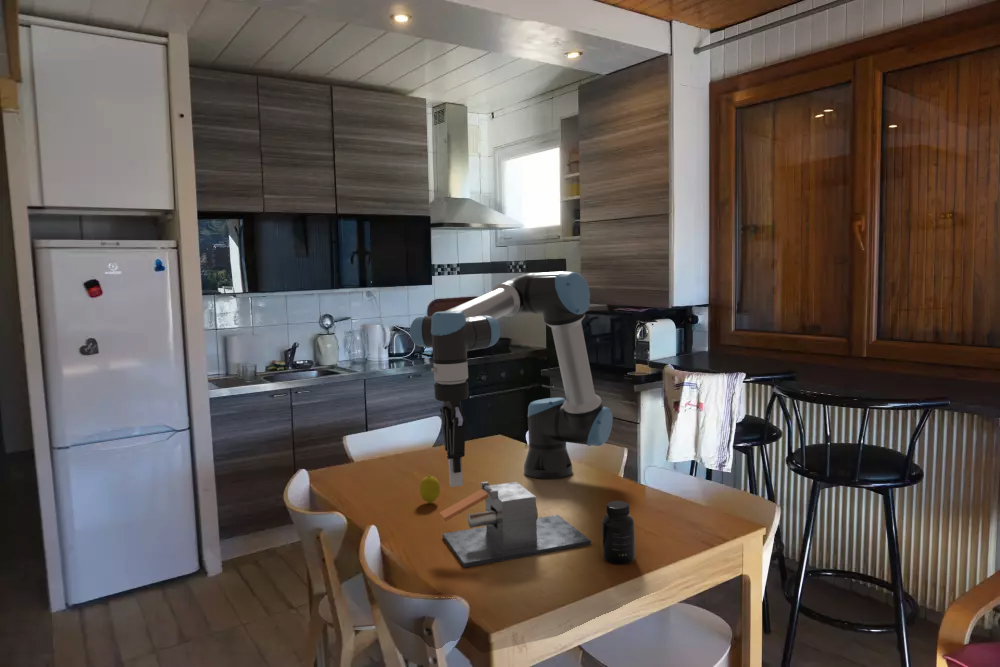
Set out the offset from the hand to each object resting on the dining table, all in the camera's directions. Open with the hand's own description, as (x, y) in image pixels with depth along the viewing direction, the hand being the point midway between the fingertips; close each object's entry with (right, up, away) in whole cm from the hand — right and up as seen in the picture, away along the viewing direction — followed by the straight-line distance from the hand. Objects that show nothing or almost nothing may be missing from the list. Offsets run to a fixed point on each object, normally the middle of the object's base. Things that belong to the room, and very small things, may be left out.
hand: (456, 485), depth 147 cm
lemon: (-9, -13, +33) cm, 37 cm away
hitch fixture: (+12, -14, +5) cm, 20 cm away
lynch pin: (+10, -10, +4) cm, 15 cm away
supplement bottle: (+35, -15, -6) cm, 39 cm away
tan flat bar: (+3, -5, +1) cm, 6 cm away
